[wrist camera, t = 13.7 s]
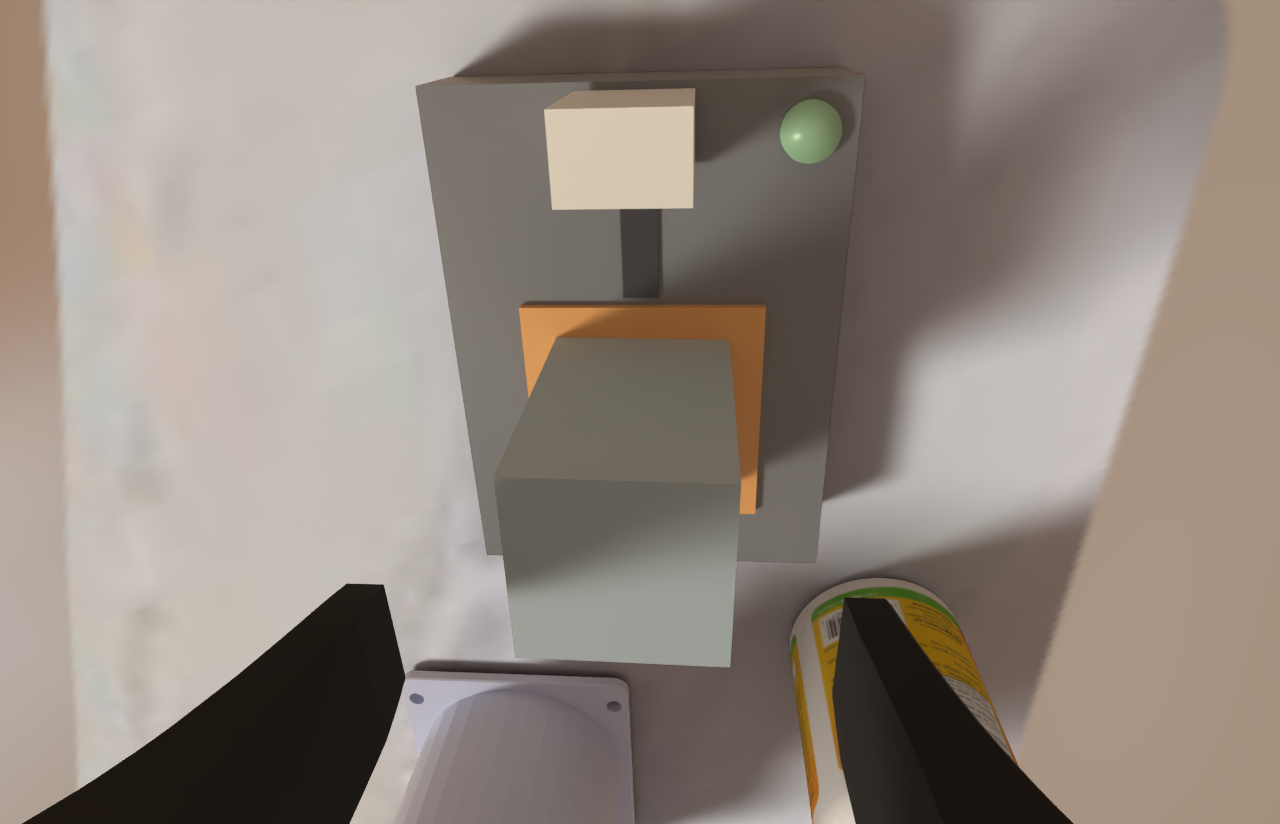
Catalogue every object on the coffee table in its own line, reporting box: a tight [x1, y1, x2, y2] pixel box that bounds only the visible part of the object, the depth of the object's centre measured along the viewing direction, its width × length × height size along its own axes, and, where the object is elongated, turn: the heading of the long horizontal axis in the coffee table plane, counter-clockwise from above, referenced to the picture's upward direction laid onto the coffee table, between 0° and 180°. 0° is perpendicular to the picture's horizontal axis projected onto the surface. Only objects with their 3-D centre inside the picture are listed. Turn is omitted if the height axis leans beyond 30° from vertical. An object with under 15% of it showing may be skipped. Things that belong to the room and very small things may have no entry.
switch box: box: [415, 67, 865, 563], centre depth 19 cm, size 12×9×3 cm
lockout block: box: [494, 337, 741, 667], centre depth 16 cm, size 4×4×6 cm
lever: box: [544, 88, 695, 210], centre depth 14 cm, size 2×2×3 cm
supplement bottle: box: [789, 578, 1019, 824], centre depth 20 cm, size 5×5×10 cm
